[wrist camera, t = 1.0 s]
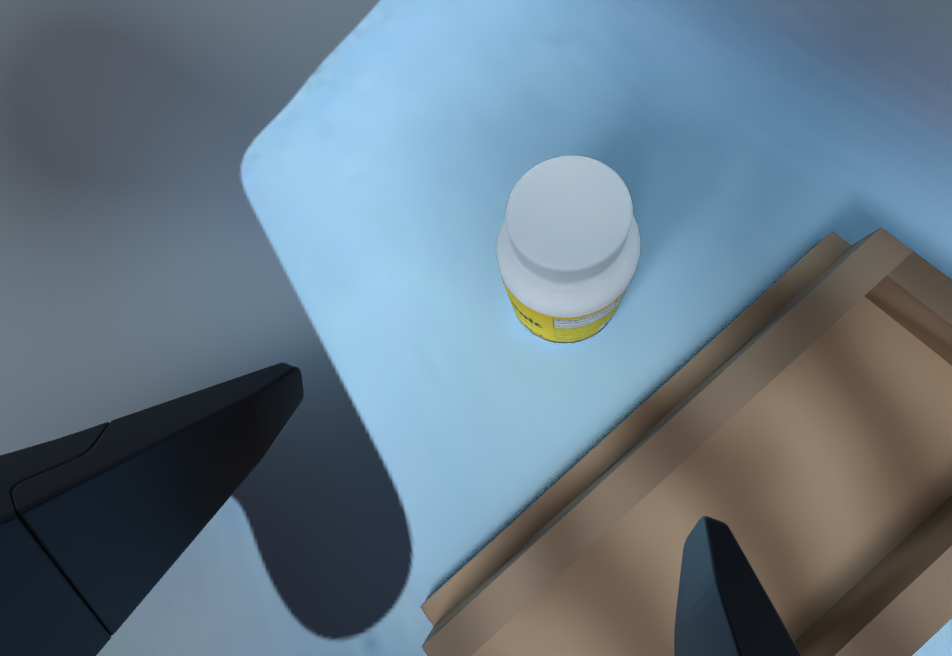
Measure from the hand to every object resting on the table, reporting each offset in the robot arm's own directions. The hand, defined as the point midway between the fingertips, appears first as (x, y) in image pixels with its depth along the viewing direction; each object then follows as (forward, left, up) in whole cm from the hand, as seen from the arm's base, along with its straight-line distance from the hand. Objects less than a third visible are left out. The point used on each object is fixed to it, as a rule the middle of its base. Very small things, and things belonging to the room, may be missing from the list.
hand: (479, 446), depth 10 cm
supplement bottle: (+6, +4, -14) cm, 16 cm away
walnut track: (+4, -9, -13) cm, 17 cm away
